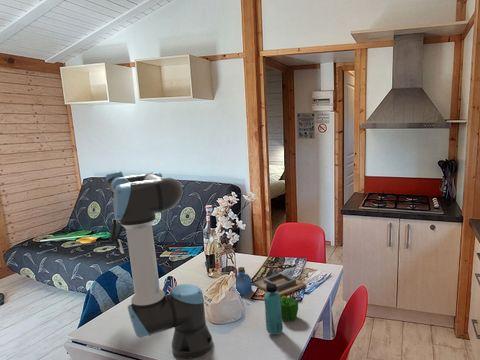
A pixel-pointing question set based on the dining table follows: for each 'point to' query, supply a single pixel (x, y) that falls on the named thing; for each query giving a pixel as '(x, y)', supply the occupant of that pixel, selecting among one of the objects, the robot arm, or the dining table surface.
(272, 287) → the beverage bottle
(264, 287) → the walnut stand
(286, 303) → the bell pepper
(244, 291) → the perfume bottle
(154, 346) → the dining table surface
